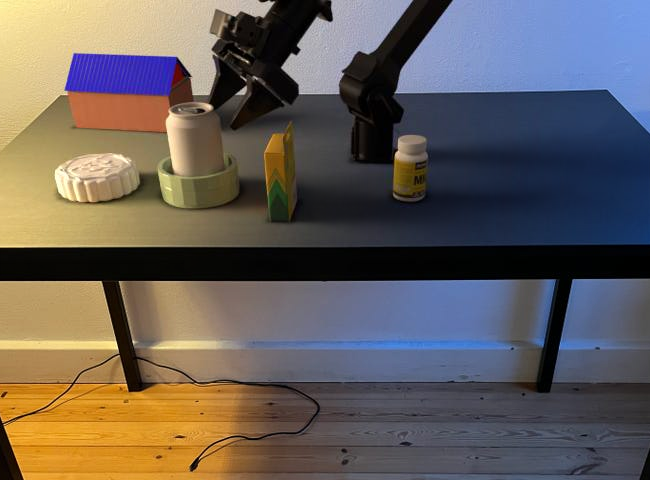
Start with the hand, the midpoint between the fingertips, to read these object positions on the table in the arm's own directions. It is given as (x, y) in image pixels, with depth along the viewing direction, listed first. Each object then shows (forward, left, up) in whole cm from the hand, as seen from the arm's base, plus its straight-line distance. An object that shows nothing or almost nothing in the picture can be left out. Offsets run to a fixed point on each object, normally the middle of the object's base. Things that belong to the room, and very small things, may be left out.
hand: (219, 119), depth 97 cm
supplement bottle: (-28, +1, -10) cm, 30 cm away
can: (+3, +2, -10) cm, 11 cm away
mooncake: (+19, +1, -10) cm, 22 cm away
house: (+24, -31, -10) cm, 41 cm away
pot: (+3, +2, -10) cm, 11 cm away
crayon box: (-10, +8, -10) cm, 16 cm away
